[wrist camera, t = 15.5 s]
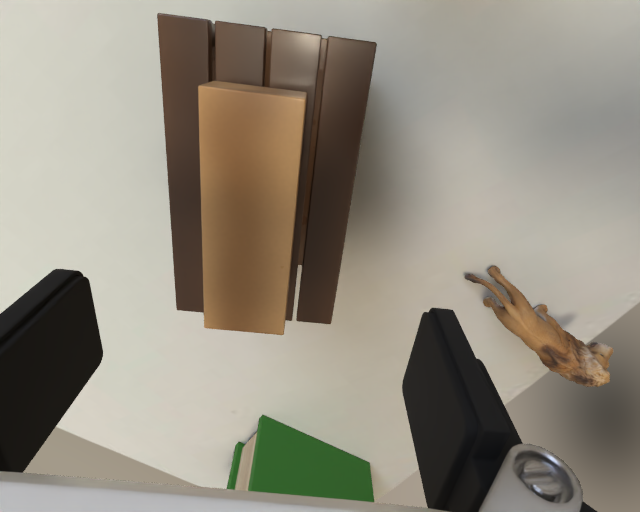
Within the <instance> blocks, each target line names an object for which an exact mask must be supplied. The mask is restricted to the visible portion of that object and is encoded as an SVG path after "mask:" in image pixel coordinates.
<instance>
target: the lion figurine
mask: <svg viewBox="0 0 640 512" xmlns="http://www.w3.org/2000/svg"><path fill="white" fill-rule="evenodd" d="M488 274H489V275H490V276H491V277H493V278H494V279H495V281H496V282H497V283H499V284H500V285H502V286H503V287H504V288H505V289H506V291H507V293H508V295H509V297H510V300H511V303H510V302H509V301H508V300H507V298H506V297H505V296H504V295H503V294H502V293H501V292H500V291H499V290H498V289H497V288H496V287H495V286H493V285H492V284H491V283H489V282H487V281H485V280H483V279H480V278H477V277H476V276H474V275H473V274H472V275H470V274H467V275H465V279H467V280H470V281H472V282H474V283H479V284H482V285H484V286H486V287H487V288H488V289H490V290H491V291H492V292H493V293H494V294H495V295H496V296H497V298H498V299H499V300H500V302H501V303H502V304H503V305H504V307H503V306H500V305H498V304H497V303H496V301H495V299H494V298H492V297H486V298H485V299H484V300H483V303H484V305H485V306H486V307H492V309H493V311H494V313H495V314H496V316H497V318H498V319H499V320H500V321H501V322H502V324H503V325H504V326H505V327H506V328H507V329H508V330H510V331H511V332H513V333H514V334H515V335H517V336H518V337H520V338H521V339H522V340H523V342H524V343H525V344H526V345H527V346H528V347H529V348H531V349H532V350H533V351H535V352H536V353H537V355H538V356H539V357H540V359H541V361H542V363H543V364H544V365H545V366H547V367H548V368H549V369H550V370H551V371H553V372H558V373H559V374H560V375H561V376H563V377H565V378H566V379H568V380H570V381H575V382H576V383H577V384H582V385H584V386H587V387H589V386H596V387H598V386H601V385H603V384H606V383H607V382H610V379H609V378H610V373H609V372H608V371H607V370H606V369H607V368H608V366H609V363H608V360H609V358H610V356H611V355H612V353H613V348H612V347H609V346H607V345H605V344H603V343H597V342H592V343H591V344H589V345H587V346H586V345H585V344H584V343H583V342H582V341H580V340H577V339H576V338H575V337H574V336H573V335H571V334H569V333H568V332H566V331H564V330H563V329H562V328H561V327H560V325H559V324H558V323H557V322H556V321H555V320H554V319H553V318H552V317H550V316H549V315H548V314H547V313H546V312H547V306H546V305H539V306H537V307H536V308H535V309H534V310H533V308H532V307H531V305H530V304H529V302H528V301H527V300H526V298H525V296H524V295H523V294H522V293H521V292H520V291H519V290H518V289H517V288H516V287H515V286H513V285H512V284H511V283H509V282H508V281H507V280H506V279H505V278H504V277H503V276H502V275H501V274H500V269H499V268H498V267H496V266H492V267H491V268H490V269H489V270H488Z"/></svg>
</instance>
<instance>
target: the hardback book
mask: <svg viewBox="0 0 640 512" xmlns="http://www.w3.org/2000/svg"><path fill="white" fill-rule="evenodd" d="M227 489H231V490H243V491H255V492H266V493H277V494H289V495H300V496H311V497H322V498H334V499H345V500H356V501H366V502H374V496H373V488H372V479H371V471H370V463H369V462H367V461H364V460H362V459H360V458H358V457H356V456H353V455H351V454H349V453H347V452H344V451H342V450H340V449H338V448H335V447H333V446H331V445H329V444H327V443H324V442H322V441H320V440H318V439H315V438H313V437H311V436H309V435H306V434H304V433H302V432H300V431H298V430H295V429H293V428H291V427H289V426H286V425H284V424H282V423H280V422H277V421H275V420H273V419H271V418H268V417H266V416H264V415H262V416H261V418H260V419H259V424H258V430H257V432H256V434H255V435H254V436H253V437H252V438H251V439H250V440H249V441H248V442H247V444H246V445H245V444H243V443H240V442H238V444H237V445H236V447H235V452H234V456H233V461H232V466H231V471H230V476H229V480H228V485H227Z"/></svg>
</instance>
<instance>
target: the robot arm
mask: <svg viewBox="0 0 640 512" xmlns="http://www.w3.org/2000/svg"><path fill="white" fill-rule="evenodd" d="M102 357H103V349H102V344H101V339H100V334H99V329H98V324H97V319H96V313H95V308H94V303H93V298H92V293H91V288H90V283H89V280H88V278H86V277H83V274H82V273H81V272H80V271H74V270H64V269H55V270H53V271H52V272H51V273H49V274H48V275H47V276H46V277H45V278H43V279H42V280H41V281H40V282H39V283H37V284H36V285H35V286H34V287H32V288H31V289H30V290H29V291H28V292H26V293H25V294H24V295H23V296H22V297H20V298H19V299H18V300H17V301H16V302H14V303H13V304H12V305H11V306H9V307H8V308H7V309H6V310H5V311H3V312H2V313H1V314H0V512H597V511H595V510H594V509H593V508H591V507H590V506H588V505H587V504H586V503H584V502H583V491H582V488H581V485H580V482H579V480H578V478H577V477H576V475H575V474H574V472H573V471H572V469H571V468H569V466H568V465H567V464H566V463H565V462H564V461H563V460H562V459H560V458H559V457H558V456H556V455H554V454H553V453H552V452H550V451H548V450H546V449H544V448H542V447H540V446H536V445H532V444H523V443H522V442H521V439H520V437H519V435H518V433H517V431H516V429H515V427H514V425H513V423H512V421H511V419H510V417H509V415H508V413H507V410H506V408H505V406H504V404H503V402H502V400H501V398H500V396H499V394H498V392H497V390H496V388H495V386H494V384H493V382H492V380H491V378H490V376H489V374H488V372H487V370H486V368H485V366H484V364H483V363H482V361H481V360H479V359H476V357H475V355H474V353H473V351H472V349H471V347H470V345H469V343H468V340H467V338H466V336H465V334H464V332H463V330H462V328H461V326H460V324H459V321H458V319H457V317H456V315H455V313H454V311H453V310H449V309H440V308H431V309H430V311H429V312H424V313H423V315H422V318H421V321H420V325H419V328H418V332H417V335H416V338H415V342H414V345H413V348H412V352H411V355H410V359H409V362H408V365H407V369H406V372H405V376H404V379H403V385H402V390H403V396H404V401H405V406H406V410H407V415H408V419H409V424H410V429H411V433H412V438H413V442H414V447H415V452H416V456H417V461H418V465H419V470H420V475H421V479H422V483H423V489H424V493H425V498H426V502H427V506H428V508H422V507H413V506H403V505H393V504H384V503H375V502H366V501H356V500H345V499H334V498H322V497H311V496H300V495H289V494H277V493H266V492H255V491H243V490H231V489H219V488H207V487H195V486H183V485H171V484H158V483H147V482H135V481H122V480H110V479H97V478H84V477H83V478H82V477H71V476H58V475H45V474H31V473H23V471H24V470H25V469H26V467H27V466H28V465H29V463H30V461H31V460H32V459H33V457H34V456H35V455H36V453H37V452H38V451H39V449H40V448H41V446H42V445H43V444H44V442H45V441H46V439H47V438H48V436H49V435H50V434H51V432H52V431H53V429H54V428H55V427H56V425H57V424H58V422H59V421H60V420H61V418H62V417H63V415H64V414H65V413H66V411H67V410H68V408H69V407H70V405H71V404H72V403H73V401H74V400H75V398H76V397H77V396H78V394H79V393H80V391H81V390H82V389H83V387H84V386H85V384H86V383H87V382H88V380H89V379H90V377H91V376H92V375H93V373H94V372H95V370H96V369H97V367H98V366H99V365H100V363H101V360H102Z"/></svg>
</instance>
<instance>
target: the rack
mask: <svg viewBox="0 0 640 512" xmlns="http://www.w3.org/2000/svg"><path fill="white" fill-rule="evenodd" d="M157 18H158V33H159V48H160V63H161V78H162V94H163V109H164V124H165V139H166V154H167V169H168V185H169V200H170V215H171V230H172V245H173V261H174V276H175V291H176V306H177V310H183V311H193V312H204V296H203V258H202V220H201V181H200V143H199V105H198V86H199V85H202V84H205V83H209V82H212V81H222V82H230V83H237V84H245V85H253V86H261V87H269V88H277V89H285V90H293V91H301V92H306V93H307V103H306V113H305V124H304V134H303V145H302V155H301V166H300V176H299V187H298V197H297V208H296V218H295V229H294V239H293V250H292V260H291V271H290V281H289V292H288V302H287V311H286V320H289V321H292V316H293V306H294V296H295V287H296V277H297V268H298V265H302V272H301V281H300V290H299V299H298V308H297V319H296V320H297V321H302V322H313V323H324V324H331V321H332V315H333V309H334V303H335V297H336V290H337V284H338V278H339V272H340V266H341V260H342V254H343V248H344V241H345V235H346V229H347V223H348V217H349V211H350V205H351V199H352V193H353V186H354V180H355V174H356V168H357V162H358V156H359V150H360V144H361V137H362V131H363V125H364V119H365V113H366V107H367V101H368V95H369V89H370V82H371V76H372V70H373V64H374V58H375V52H376V46H377V44H376V43H375V42H369V41H362V40H355V39H347V38H340V37H332V36H329V37H328V38H327V39H323V38H322V36H321V35H318V34H310V33H303V32H296V31H288V30H281V29H272V32H271V31H267V28H265V27H259V26H251V25H244V24H236V23H229V22H222V21H215V24H212V22H211V21H210V20H207V19H199V18H192V17H185V16H177V15H170V14H162V13H158V14H157Z"/></svg>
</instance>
